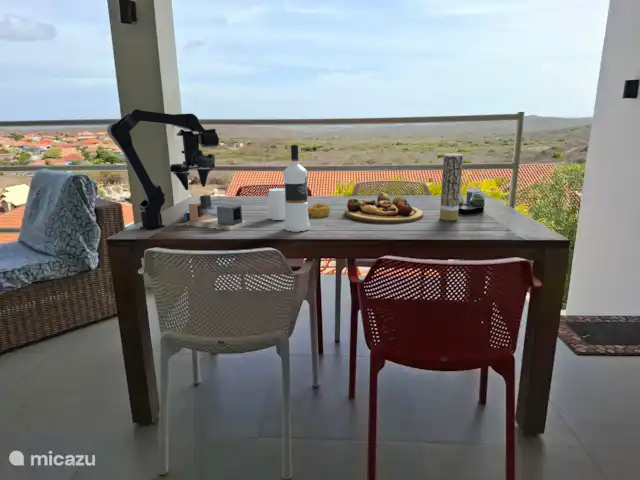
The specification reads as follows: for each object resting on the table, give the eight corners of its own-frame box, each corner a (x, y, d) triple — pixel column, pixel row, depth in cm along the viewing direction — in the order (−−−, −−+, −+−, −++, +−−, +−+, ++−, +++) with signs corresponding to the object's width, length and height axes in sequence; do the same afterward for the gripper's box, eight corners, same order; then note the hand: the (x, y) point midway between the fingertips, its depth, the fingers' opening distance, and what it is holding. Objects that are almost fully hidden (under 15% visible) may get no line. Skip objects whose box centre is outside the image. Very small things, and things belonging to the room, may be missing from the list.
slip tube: (230, 216, 155) (229, 196, 153) (224, 218, 152) (222, 198, 150) (199, 213, 162) (197, 194, 160) (193, 215, 159) (191, 195, 156)
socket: (207, 218, 162) (206, 201, 160) (197, 221, 157) (195, 204, 155) (201, 217, 164) (199, 201, 162) (190, 221, 158) (188, 203, 157)
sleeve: (242, 222, 155) (241, 205, 153) (233, 225, 150) (231, 208, 148) (227, 220, 158) (226, 204, 156) (218, 224, 153) (216, 206, 151)
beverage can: (265, 220, 163) (263, 190, 160) (276, 216, 170) (275, 187, 167) (282, 222, 160) (281, 191, 156) (293, 217, 167) (292, 188, 163)
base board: (247, 224, 157) (246, 221, 156) (230, 230, 148) (230, 227, 148) (204, 219, 166) (204, 216, 165) (186, 225, 157) (186, 222, 157)
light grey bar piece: (180, 212, 162) (199, 193, 185) (183, 227, 165) (201, 207, 188) (193, 212, 162) (210, 193, 185) (196, 227, 165) (212, 207, 188)
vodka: (289, 225, 154) (286, 144, 145) (313, 227, 151) (311, 143, 143) (280, 231, 145) (277, 145, 137) (305, 233, 143) (303, 145, 134)
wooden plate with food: (337, 222, 158) (338, 201, 156) (351, 205, 188) (351, 188, 186) (422, 228, 151) (424, 206, 149) (422, 209, 181) (424, 191, 178)
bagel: (303, 213, 175) (303, 202, 173) (329, 212, 176) (329, 202, 174) (304, 219, 165) (304, 207, 164) (331, 218, 166) (331, 206, 165)
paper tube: (458, 221, 156) (464, 154, 149) (440, 221, 157) (444, 154, 150) (456, 217, 162) (461, 153, 155) (438, 217, 163) (443, 153, 157)
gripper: (189, 149, 145) (194, 193, 149) (223, 146, 161) (226, 186, 165) (166, 149, 150) (171, 191, 154) (202, 146, 166) (205, 184, 170)
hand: (195, 188), depth 161 cm, fingers open, 9 cm apart
